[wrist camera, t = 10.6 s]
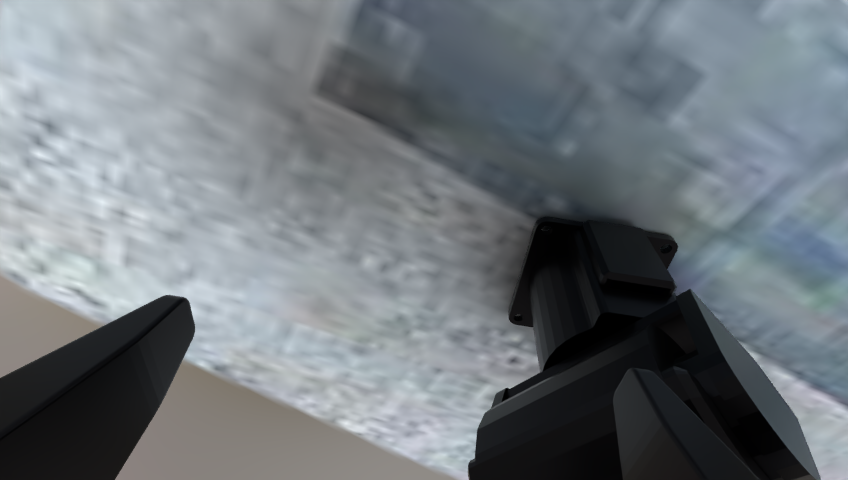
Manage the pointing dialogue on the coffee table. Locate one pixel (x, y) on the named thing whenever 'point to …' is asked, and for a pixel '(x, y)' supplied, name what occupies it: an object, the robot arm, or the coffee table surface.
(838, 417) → the coffee table surface
